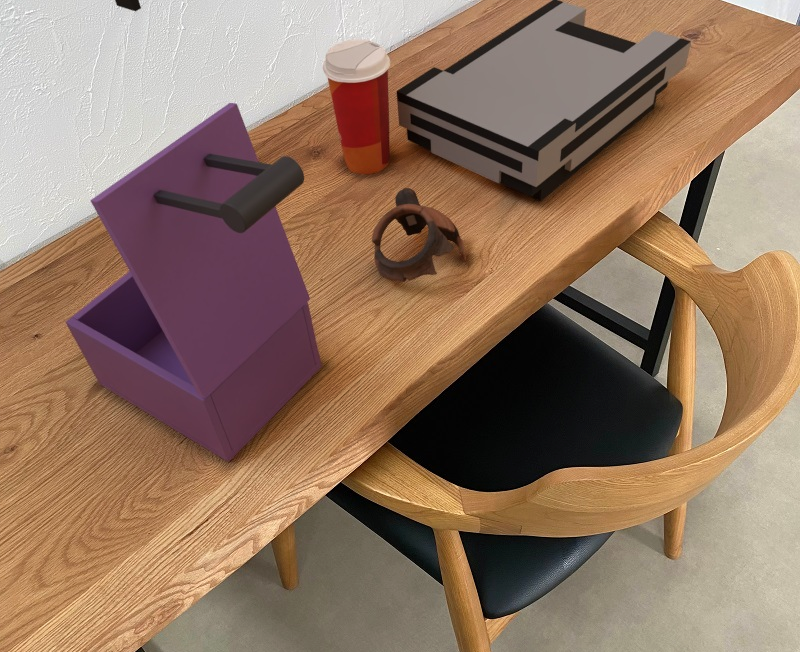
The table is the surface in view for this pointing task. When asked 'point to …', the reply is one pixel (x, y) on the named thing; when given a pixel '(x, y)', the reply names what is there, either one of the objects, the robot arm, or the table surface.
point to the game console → (539, 98)
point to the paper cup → (360, 102)
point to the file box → (168, 381)
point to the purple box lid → (209, 244)
